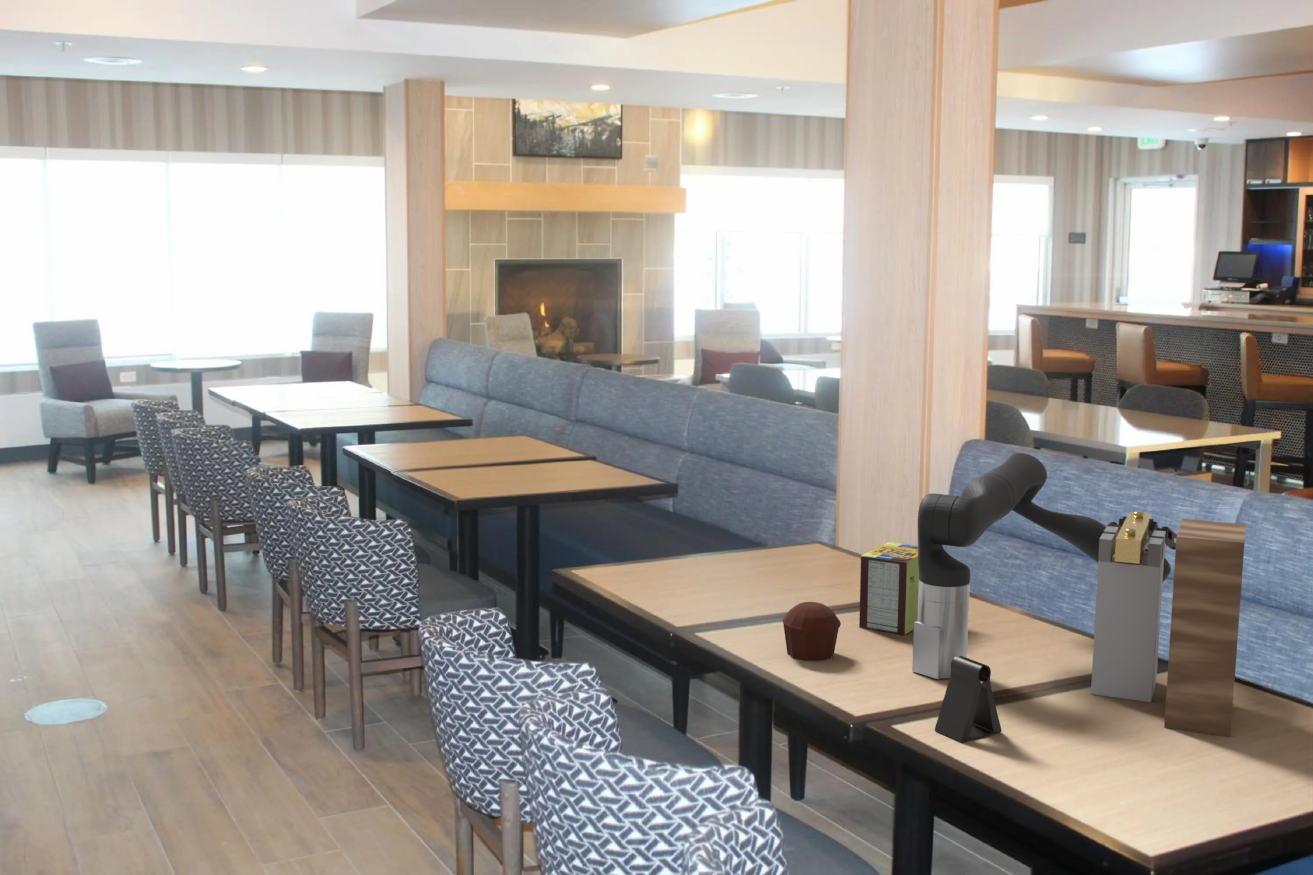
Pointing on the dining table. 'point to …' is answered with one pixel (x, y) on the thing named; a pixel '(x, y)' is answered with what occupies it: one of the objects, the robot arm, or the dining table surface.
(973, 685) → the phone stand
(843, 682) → the dining table surface
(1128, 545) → the gold studded block
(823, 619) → the muffin
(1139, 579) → the post
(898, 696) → the dining table surface
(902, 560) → the protein box
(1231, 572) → the stand
